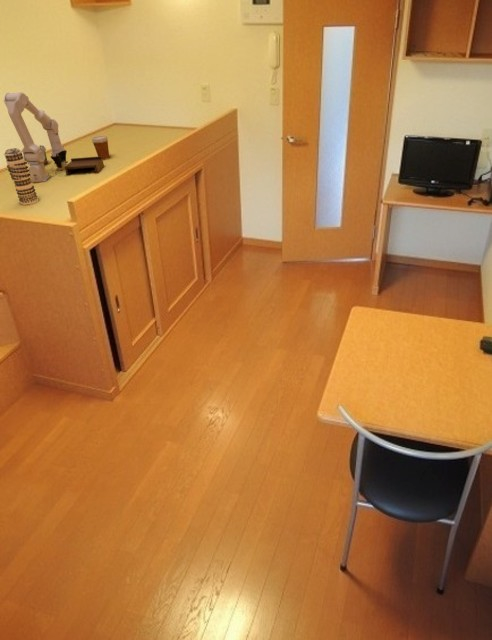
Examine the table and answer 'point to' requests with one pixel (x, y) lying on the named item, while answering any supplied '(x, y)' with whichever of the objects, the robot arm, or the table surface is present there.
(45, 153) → the food container
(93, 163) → the shelf
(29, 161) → the robot arm
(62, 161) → the pot
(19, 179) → the leaning tower model
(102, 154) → the disposable coffee cup
